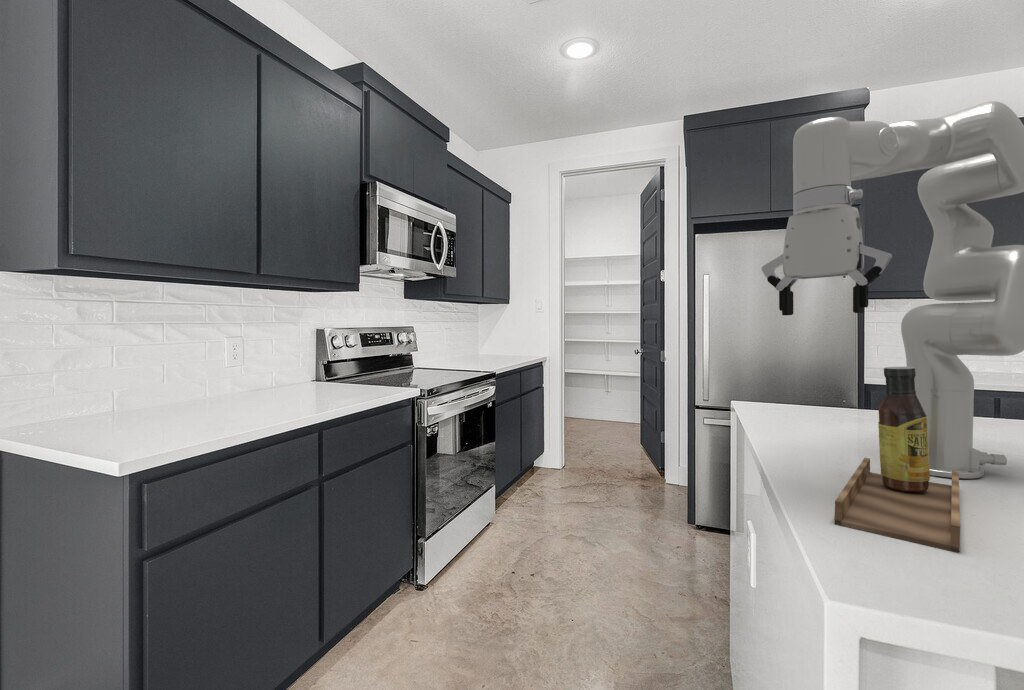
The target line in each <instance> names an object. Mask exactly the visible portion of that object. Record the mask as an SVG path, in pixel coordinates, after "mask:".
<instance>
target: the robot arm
mask: <svg viewBox="0 0 1024 690" xmlns="http://www.w3.org/2000/svg"><path fill="white" fill-rule="evenodd" d="M926 169H929V170H927V171H926V172H924V173H923V174H922V175H921V177H920V178H919V180H918V183H917V194H918V198H919V200H920V204H921V205H922V207H923V210H924V211H925V213H926V215H927V218H928V220H929V221H930V224H931V227H932V230H933V238H932V243H931V248H930V251H929V256H928V259H927V264H926V268H925V271H924V276H923V284H922V286H923V291H924V293H925V295H926V296H927V297H928V298H930V299H931V300H935V301H942V302H943V303H931V304H925V305H919V306H916V307H914V308H911V309H910V310H908V312H906V313H905V315H904V316H903V318H901V319H902V320H901V323H900V324H901V325H900V329H901V330H900V333H901V337H902V342H903V347H904V353H905V361H906V362H905V363H906V367H914V368H915V372H916V376H915V378H914V381H915V391H916V396H917V398H918V400H919V402H920V404H921V406H922V408H923V410H924V412H925V414H926V416H927V431H928V449H929V470H930V476H934V477H941V478H951V479H952V470H954V471H959V479H969V480H970V479H980V478H982V477H984V475H985V470H984V469H983V468H982V467H984V466H985V465H986V464H987V465H988V464H989V465H994V466H1006V465H1007V463H1008V459H1007V456H1006V455H1005V454H999V453H997V454H996V453H990V454H989V452H986V451H985V452H984V451H981V450H979V449H975V448H973V441H974V404H975V403H974V401H975V400H974V398H975V380H974V376H973V374H972V372H971V370H970V369H969V368H968V366H967V365H966V364H965V363H964V362H963V361H962V360H961V359H960V357H959V356H983V357H984V356H985V357H987V356H988V357H989V356H991V357H992V356H993V357H994V356H996V357H997V356H998V357H1003V356H1004V357H1008V356H1015V355H1019V354H1021V353H1022V352H1024V244H1010V245H1009V244H1007V245H998V246H992V245H993V239H994V233H995V230H994V227H993V225H992V223H990V221H989V220H988V219H987V218H986V217H985V216H983V215H982V214H980V213H979V212H977V211H975V210H974V209H973V208H971V207H970V206H969V205H967V204H970V203H976V202H981V201H986V200H993V199H998V198H1002V197H1009V196H1013V195H1017V194H1021V193H1024V124H1023V122H1022V120H1021V119H1020V118H1019V117H1018V115H1017V114H1016V113H1015V112H1014V110H1012V109H1011V108H1010V107H1009V106H1008V105H1007V104H1005V103H1003V102H1000V101H997V100H993V101H992V100H991V101H986V102H983V103H979V104H977V105H973V106H971V107H968V108H964V109H962V110H959V111H955V112H952V113H949V114H946V115H943V116H939V117H936V118H927V119H925V118H924V119H913V120H912V119H908V120H901V121H897V122H892V123H889V124H888V123H886V122H883V121H879V120H861V121H859V120H858V121H850V120H848V119H846V118H844V117H841V116H830V117H822V118H818V119H815V120H812V121H810V122H806V123H804V124H803V125H801V126H800V127H799V128H797V130H796V131H795V133H794V135H793V140H792V180H793V182H792V184H793V185H792V186H793V187H792V194H793V196H792V197H793V199H792V207H793V209H792V210H793V211H792V212H793V213H792V214H793V215H791V216H789V217H788V221H787V225H786V231H785V237H784V243H783V252H782V253H783V254H781V255H779V256H778V257H776V258H774V259H772V260H770V261H769V262H767V263H766V264H764V265H762V266H761V271H762V273H763V274H764V276H765V278H766V279H767V282H768V283H769V284H770V285H772V286H773V288H775V290H777V292H778V308H779V311H780V312H781V315H782V316H793V315H794V292H793V291H792V289H791V288H792V287H793V286H794V285H795V284H796V283H797V281H799V280H809V279H821V278H833V277H844V276H849V277H850V278H851V279H852V281H854V282H855V285H854V286H853V287H852V312H853V313H855V314H864V312H865V308H869V286H871V284H872V283H873V282H875V280H877V279H878V278H879V277H880V276H881V275H882V274H883V273H884V271H885V269H886V267H887V266H888V265H889V263H890V261H891V260H892V258H893V254H892V253H889V252H887V251H883V250H881V249H877V248H874V247H870V246H868V245H864V238H863V237H864V236H863V230H862V229H863V228H862V221H861V218H860V217H861V216H860V212H859V210H858V208H857V207H855V206H853V203H854V201H856V200H858V199H862V198H863V197H864V195H863V194H864V193H863V192H864V191H863V189H862V188H858V189H854V188H852V182H853V181H855V182H856V181H860V180H867V179H875V178H880V177H886V176H891V175H894V174H901V173H906V172H907V173H908V172H912V171H920V170H926ZM865 256H867V257H870V258H873V259H875V263H874V265H873V266H872V267H871V268H870V269H869V270H868V271H866V273H864V272H863V270H864V268H865ZM781 266H782V271H783V274H784V276H783V277H782V278H779V276H777V275H776V272H775V271H776V269H777V268H779V267H781ZM987 300H988V301H987ZM992 300H993V301H992ZM966 301H967V302H966ZM968 301H969V302H968ZM970 301H971V302H970ZM972 301H974V302H972ZM976 301H977V302H976ZM944 302H946V303H944ZM981 466H982V467H981Z"/></svg>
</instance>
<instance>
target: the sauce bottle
mask: <svg viewBox="0 0 1024 690" xmlns="http://www.w3.org/2000/svg"><path fill="white" fill-rule="evenodd" d="M883 374H884V378H885V394H886V395H885V396H884V398H883V400H882V401H881V402H880V403H879V406H878V424H877V425H878V426H877V427H878V439H879V440H878V442H879V445H878V446H879V462H880V474H881V475H882V476H883V477H882V481H883V484H884V485H885V486H886V487H889V488H891V489H896V490H900V491H910V492H920V491H926V490H927V489H928V486H929V482H930V480H931V475H930V470H929V449H928V431H927V416H926V414H925V412H924V410H923V408H922V406H921V404H920V402H919V400H918V398H917V396H916V391H915V381H914V378H915V376H916V372H915V368H914V367H907V366H887V367H883Z"/></svg>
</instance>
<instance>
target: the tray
mask: <svg viewBox="0 0 1024 690" xmlns="http://www.w3.org/2000/svg"><path fill="white" fill-rule="evenodd" d="M882 477H883V476H882V475H881V473H877V472H871V458H870V457H863V459H862V461H861V462H860V463H859V465H858V467H857V468H856V470H855V471H854V473H853V474H852V476H851V477H850V479H848V481H847V483H846V485H845V486H844V487H843V488H842V490H841V492H840V493H839V495H838V496H837V498H836V499H835V501H834V525H837V524H839V525H838V526H841V525H844V526H843V527H846V526H847V528H850V527H853V528H852V529H854V528H856V529H855V530H859V529H861V530H860V531H863V530H865V531H864V532H867V531H870V532H869V533H872V532H873V534H876V533H877V535H880V534H881V535H880V536H885V537H888V538H893V537H894V538H893V539H897V540H898V539H899V540H903V541H906V542H907V541H908V542H912V543H915V544H920V545H924V546H929V547H933V548H936V547H937V548H936V549H941V548H942V550H945V549H947V550H946V551H949V550H951V552H954V551H957V552H956V553H958V552H960V551H961V510H960V509H961V508H960V507H961V505H960V480H959V479H960V478H959V471H954V470H952V478H951V484H945V483H940V482H933V481H929V486H928V489H927V490H926V491H920V492H910V491H900V490H896V489H891V488H889V487H886V486H885V485H884V484H883V481H882Z"/></svg>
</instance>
